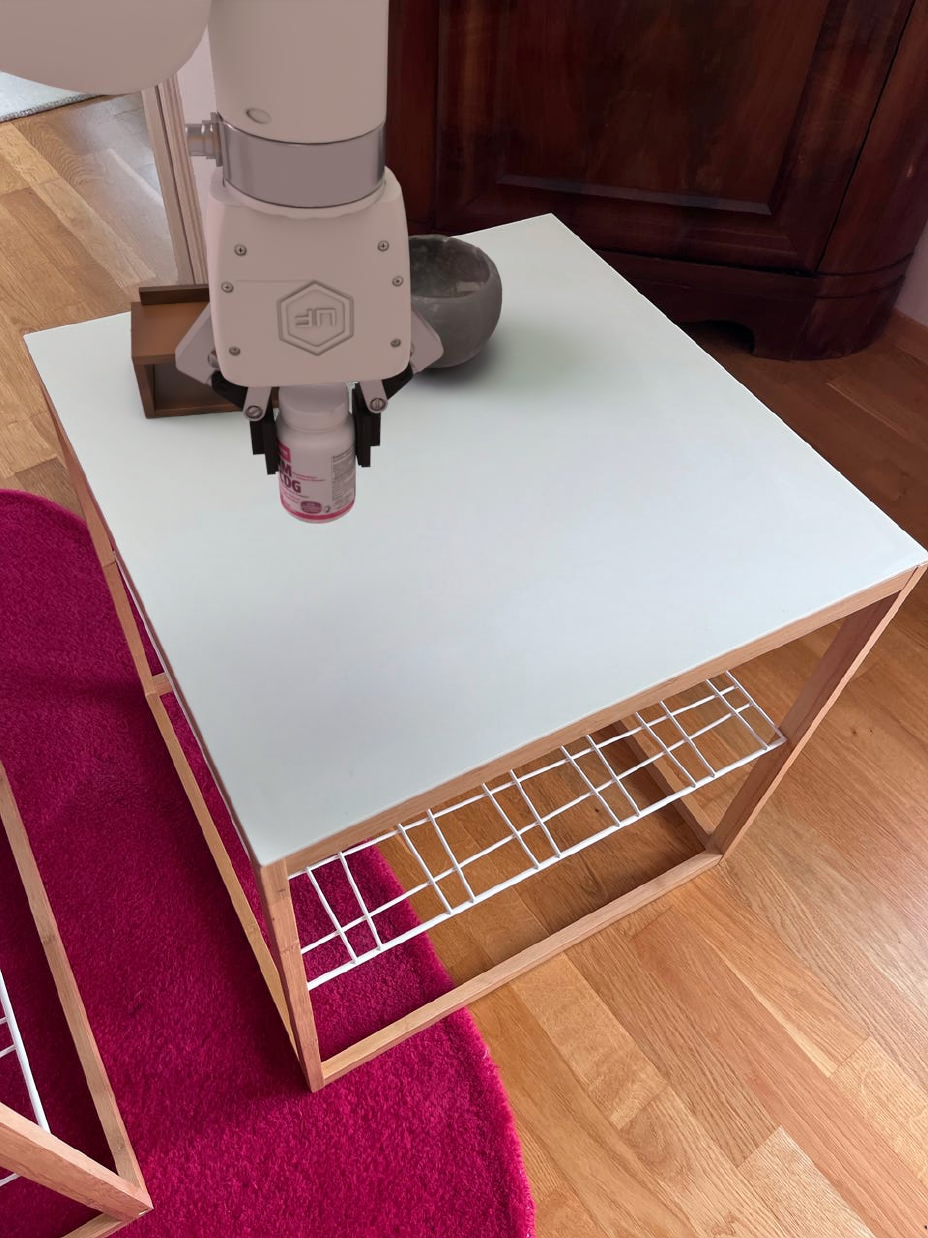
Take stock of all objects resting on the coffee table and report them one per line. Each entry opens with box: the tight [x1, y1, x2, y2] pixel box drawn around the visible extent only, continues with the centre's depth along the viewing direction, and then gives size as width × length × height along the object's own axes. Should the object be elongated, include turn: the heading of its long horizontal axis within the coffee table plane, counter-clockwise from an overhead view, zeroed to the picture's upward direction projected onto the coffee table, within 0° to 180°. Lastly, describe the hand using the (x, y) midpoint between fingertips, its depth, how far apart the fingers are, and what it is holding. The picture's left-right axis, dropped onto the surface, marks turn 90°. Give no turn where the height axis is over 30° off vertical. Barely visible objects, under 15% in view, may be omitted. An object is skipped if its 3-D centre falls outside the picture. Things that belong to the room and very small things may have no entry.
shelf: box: [130, 282, 280, 419], centre depth 92 cm, size 14×9×8 cm, turn 103°
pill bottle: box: [275, 383, 357, 525], centre depth 57 cm, size 5×5×8 cm
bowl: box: [394, 234, 503, 369], centre depth 97 cm, size 15×15×10 cm
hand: (316, 453), depth 57 cm, fingers closed on pill bottle, 4 cm apart
